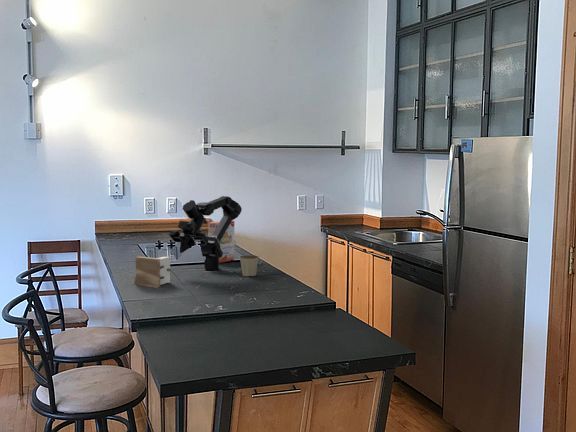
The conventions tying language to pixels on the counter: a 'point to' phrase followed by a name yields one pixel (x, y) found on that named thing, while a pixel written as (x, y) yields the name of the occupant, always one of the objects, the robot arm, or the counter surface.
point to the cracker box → (224, 241)
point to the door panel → (165, 270)
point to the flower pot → (249, 264)
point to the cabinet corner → (148, 272)
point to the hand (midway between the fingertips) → (180, 252)
